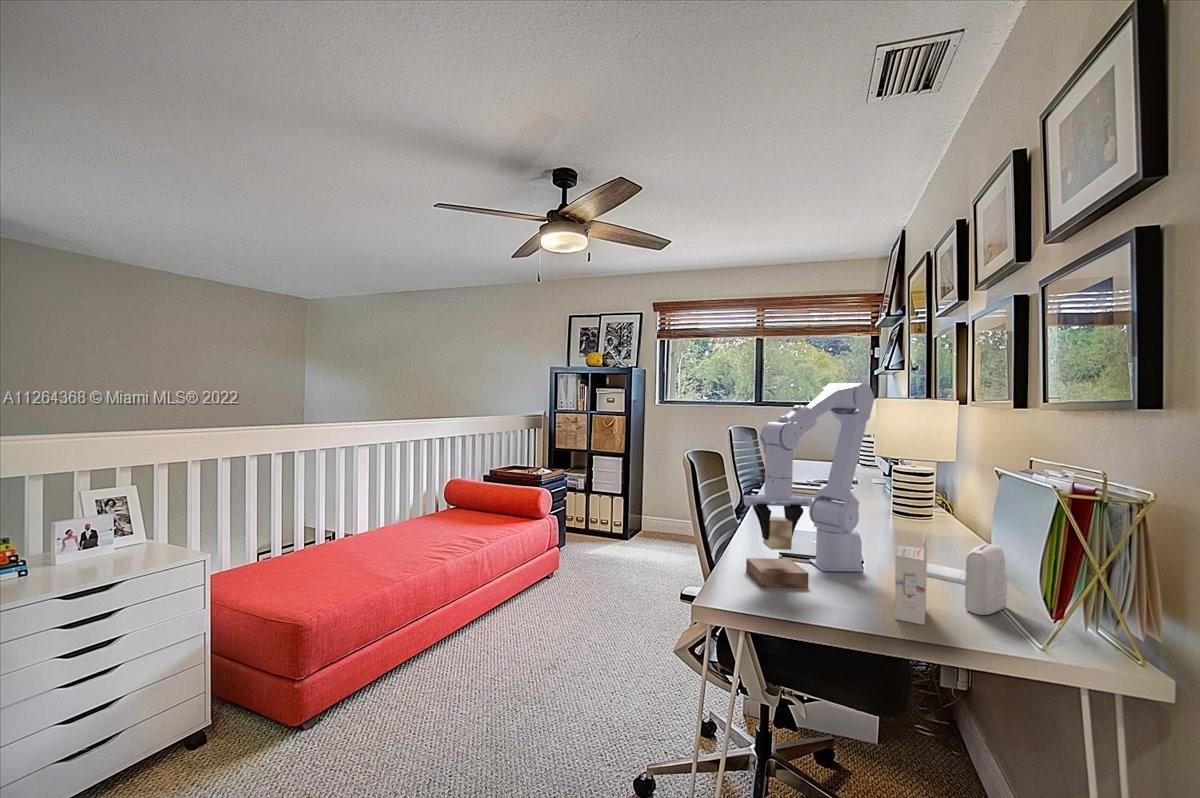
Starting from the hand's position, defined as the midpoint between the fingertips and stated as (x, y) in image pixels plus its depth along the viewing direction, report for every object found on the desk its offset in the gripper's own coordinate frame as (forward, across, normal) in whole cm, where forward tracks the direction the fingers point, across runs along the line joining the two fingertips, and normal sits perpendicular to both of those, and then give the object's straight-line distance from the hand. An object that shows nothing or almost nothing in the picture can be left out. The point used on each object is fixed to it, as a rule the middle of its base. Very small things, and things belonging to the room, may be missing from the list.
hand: (776, 538), depth 117 cm
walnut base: (+9, 0, 0) cm, 9 cm away
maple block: (+2, 0, 0) cm, 2 cm away
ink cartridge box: (+9, +18, -19) cm, 28 cm away
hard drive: (+10, +40, +5) cm, 41 cm away
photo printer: (+9, +35, -16) cm, 40 cm away
